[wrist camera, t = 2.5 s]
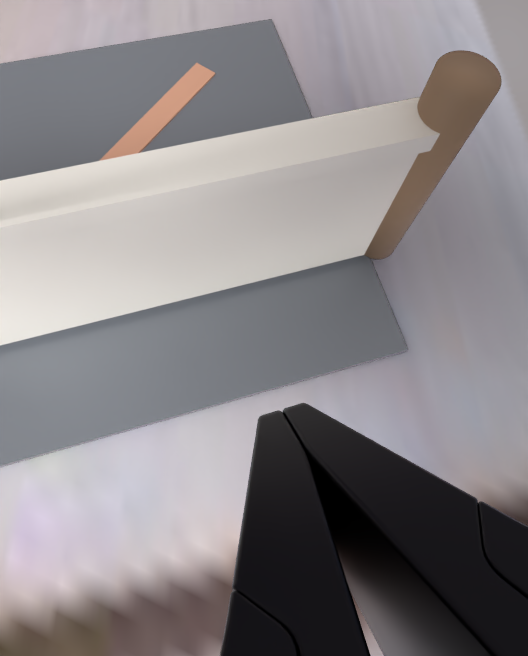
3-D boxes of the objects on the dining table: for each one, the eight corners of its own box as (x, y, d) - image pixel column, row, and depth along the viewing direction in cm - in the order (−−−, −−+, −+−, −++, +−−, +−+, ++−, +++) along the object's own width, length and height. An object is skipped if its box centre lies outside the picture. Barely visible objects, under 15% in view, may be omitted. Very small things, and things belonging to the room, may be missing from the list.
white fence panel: (-47, 366, 17) (-304, 263, 9) (-50, 324, 18) (-296, 190, 10) (401, 253, 20) (512, 94, 12) (386, 220, 20) (483, 45, 12)
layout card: (-444, 593, 15) (-462, 596, 14) (-361, 129, 21) (-372, 122, 21) (405, 351, 19) (408, 348, 19) (271, 24, 25) (271, 17, 25)
